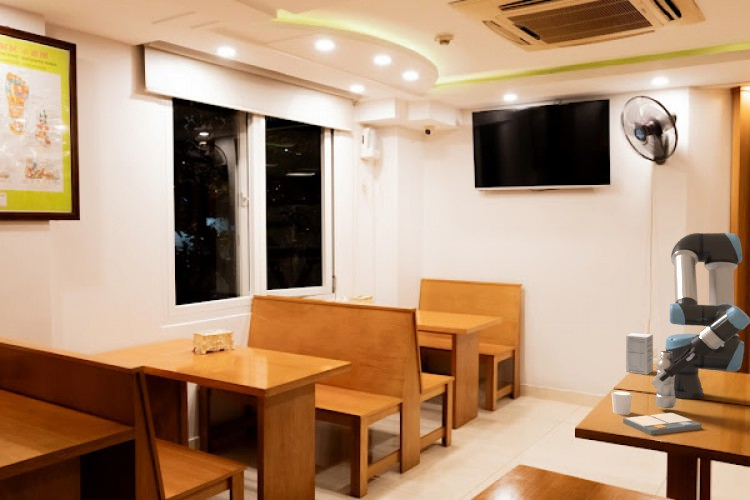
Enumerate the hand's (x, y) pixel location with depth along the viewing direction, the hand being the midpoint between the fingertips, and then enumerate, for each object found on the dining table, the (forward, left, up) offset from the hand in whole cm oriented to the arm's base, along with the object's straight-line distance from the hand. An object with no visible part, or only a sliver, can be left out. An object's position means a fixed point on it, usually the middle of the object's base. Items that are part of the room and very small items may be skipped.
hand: (654, 383), depth 228 cm
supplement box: (-35, -50, -10) cm, 62 cm away
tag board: (+12, +17, -9) cm, 22 cm away
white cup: (+14, 0, -10) cm, 17 cm away
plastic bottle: (-3, +3, -9) cm, 9 cm away
